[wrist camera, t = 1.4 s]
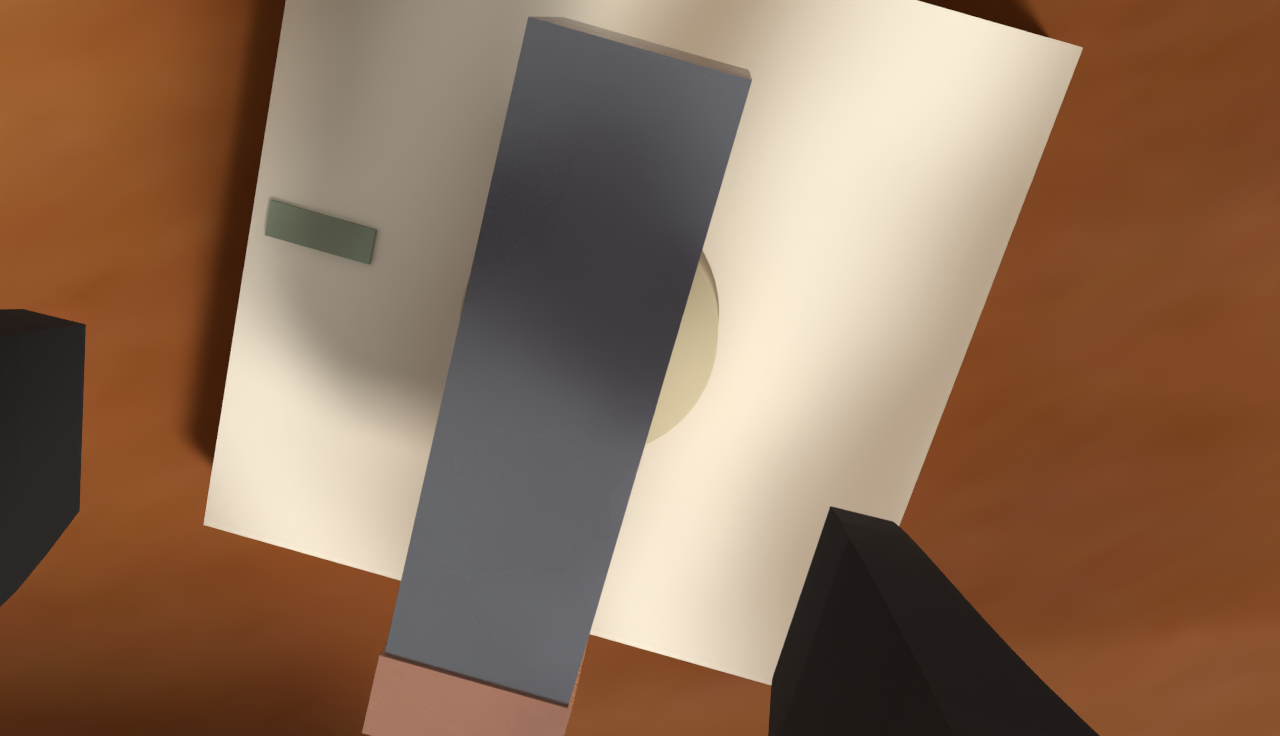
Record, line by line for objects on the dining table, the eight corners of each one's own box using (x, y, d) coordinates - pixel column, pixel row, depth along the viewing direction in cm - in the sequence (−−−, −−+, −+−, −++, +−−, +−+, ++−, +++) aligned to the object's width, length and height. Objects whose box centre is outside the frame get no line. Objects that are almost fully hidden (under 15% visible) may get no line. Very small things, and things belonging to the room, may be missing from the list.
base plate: (1055, 45, 18) (1116, 50, 15) (825, 657, 22) (838, 753, 19) (346, -157, 18) (272, -191, 15) (238, 491, 22) (162, 562, 19)
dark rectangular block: (751, 65, 15) (756, 81, 11) (590, 618, 18) (549, 785, 14) (577, 16, 15) (523, 15, 11) (442, 577, 18) (361, 732, 14)
